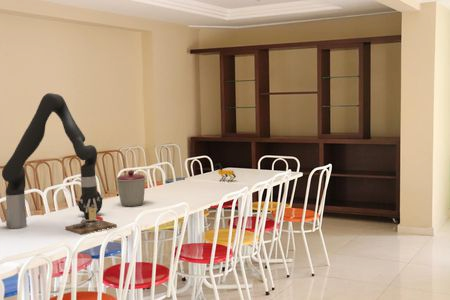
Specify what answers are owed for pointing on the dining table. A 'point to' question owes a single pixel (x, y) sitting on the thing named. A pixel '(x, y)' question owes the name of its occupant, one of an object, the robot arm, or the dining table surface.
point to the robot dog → (225, 173)
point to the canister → (131, 189)
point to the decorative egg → (96, 201)
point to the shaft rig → (90, 226)
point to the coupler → (91, 213)
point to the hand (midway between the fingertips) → (90, 218)
